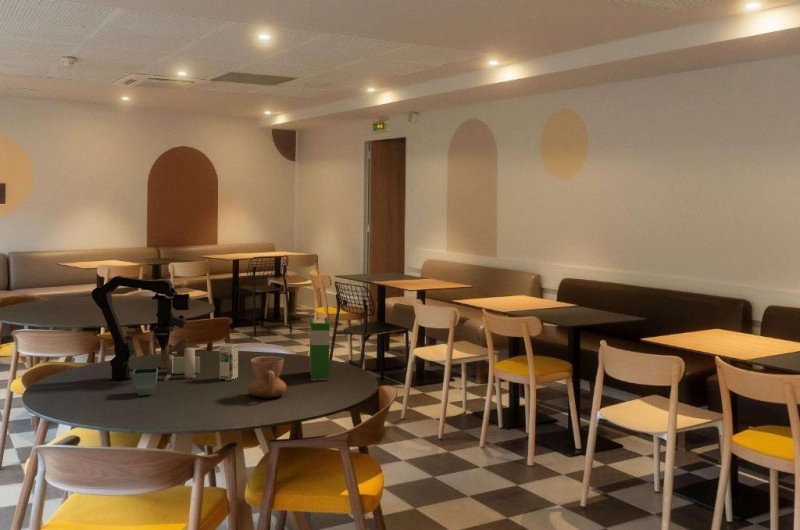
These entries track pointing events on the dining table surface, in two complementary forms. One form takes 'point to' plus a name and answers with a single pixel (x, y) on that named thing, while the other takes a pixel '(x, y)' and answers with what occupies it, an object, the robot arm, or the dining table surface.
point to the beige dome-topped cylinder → (189, 363)
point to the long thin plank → (169, 367)
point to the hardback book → (319, 348)
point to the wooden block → (177, 348)
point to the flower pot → (145, 380)
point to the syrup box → (228, 361)
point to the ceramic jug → (267, 377)
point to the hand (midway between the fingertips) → (164, 348)
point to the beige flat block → (180, 366)
